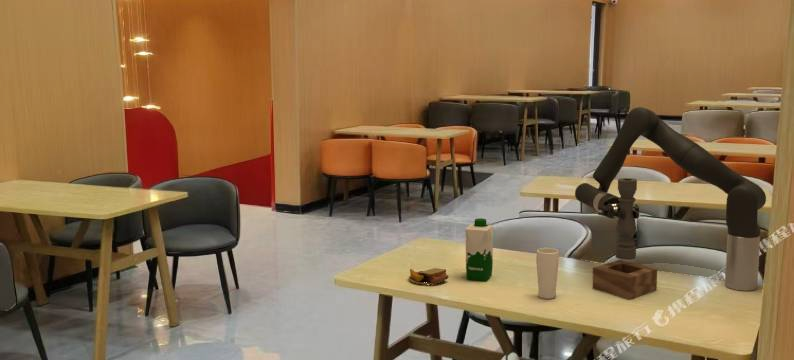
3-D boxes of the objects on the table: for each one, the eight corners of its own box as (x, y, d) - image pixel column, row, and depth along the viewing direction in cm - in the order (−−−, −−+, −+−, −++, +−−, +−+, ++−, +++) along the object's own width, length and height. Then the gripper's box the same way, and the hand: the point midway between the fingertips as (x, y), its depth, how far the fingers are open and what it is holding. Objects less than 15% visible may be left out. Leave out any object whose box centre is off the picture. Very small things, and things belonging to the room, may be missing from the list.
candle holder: (637, 260, 217) (639, 181, 213) (616, 259, 219) (618, 181, 214) (634, 254, 223) (636, 178, 219) (614, 254, 225) (616, 178, 220)
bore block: (619, 279, 232) (620, 259, 231) (656, 290, 221) (657, 269, 220) (592, 288, 224) (592, 267, 223) (629, 299, 213) (630, 277, 212)
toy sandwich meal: (433, 273, 246) (433, 260, 245) (453, 283, 234) (453, 269, 233) (402, 279, 240) (402, 265, 239) (421, 289, 228) (421, 276, 228)
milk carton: (494, 275, 241) (494, 219, 238) (488, 283, 233) (488, 224, 229) (470, 272, 244) (470, 217, 241) (463, 280, 236) (462, 223, 233)
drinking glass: (545, 301, 213) (546, 254, 211) (531, 295, 219) (532, 249, 217) (562, 297, 216) (563, 251, 214) (548, 291, 222) (549, 246, 220)
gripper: (588, 195, 231) (608, 205, 214) (629, 192, 233) (652, 203, 216) (587, 217, 233) (608, 229, 216) (628, 214, 234) (652, 226, 217)
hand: (630, 215), depth 216 cm, fingers closed on candle holder, 4 cm apart
